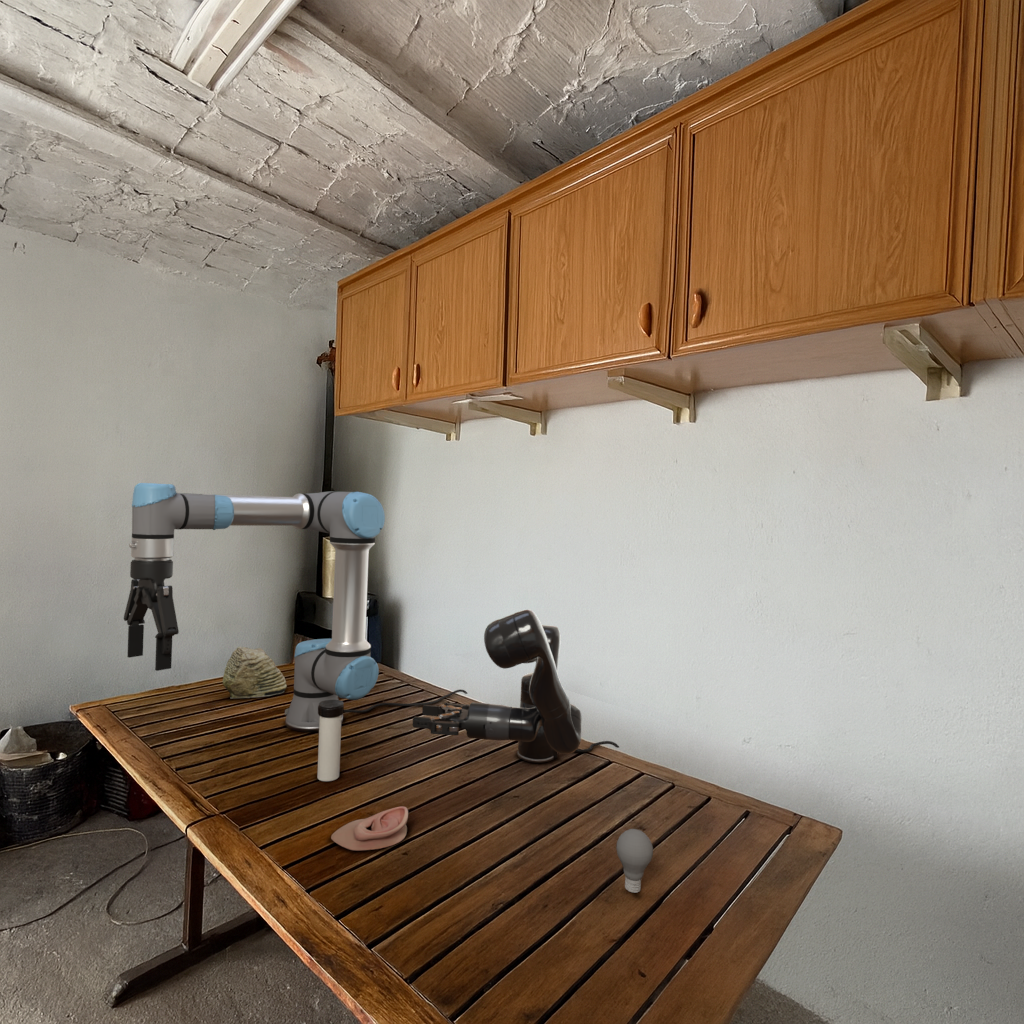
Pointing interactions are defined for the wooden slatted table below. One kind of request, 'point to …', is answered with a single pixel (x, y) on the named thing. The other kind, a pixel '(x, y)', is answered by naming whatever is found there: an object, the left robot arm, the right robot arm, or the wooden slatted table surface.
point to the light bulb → (634, 857)
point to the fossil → (252, 674)
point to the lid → (331, 708)
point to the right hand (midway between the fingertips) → (418, 715)
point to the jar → (329, 748)
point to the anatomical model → (374, 830)
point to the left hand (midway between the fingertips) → (148, 662)
